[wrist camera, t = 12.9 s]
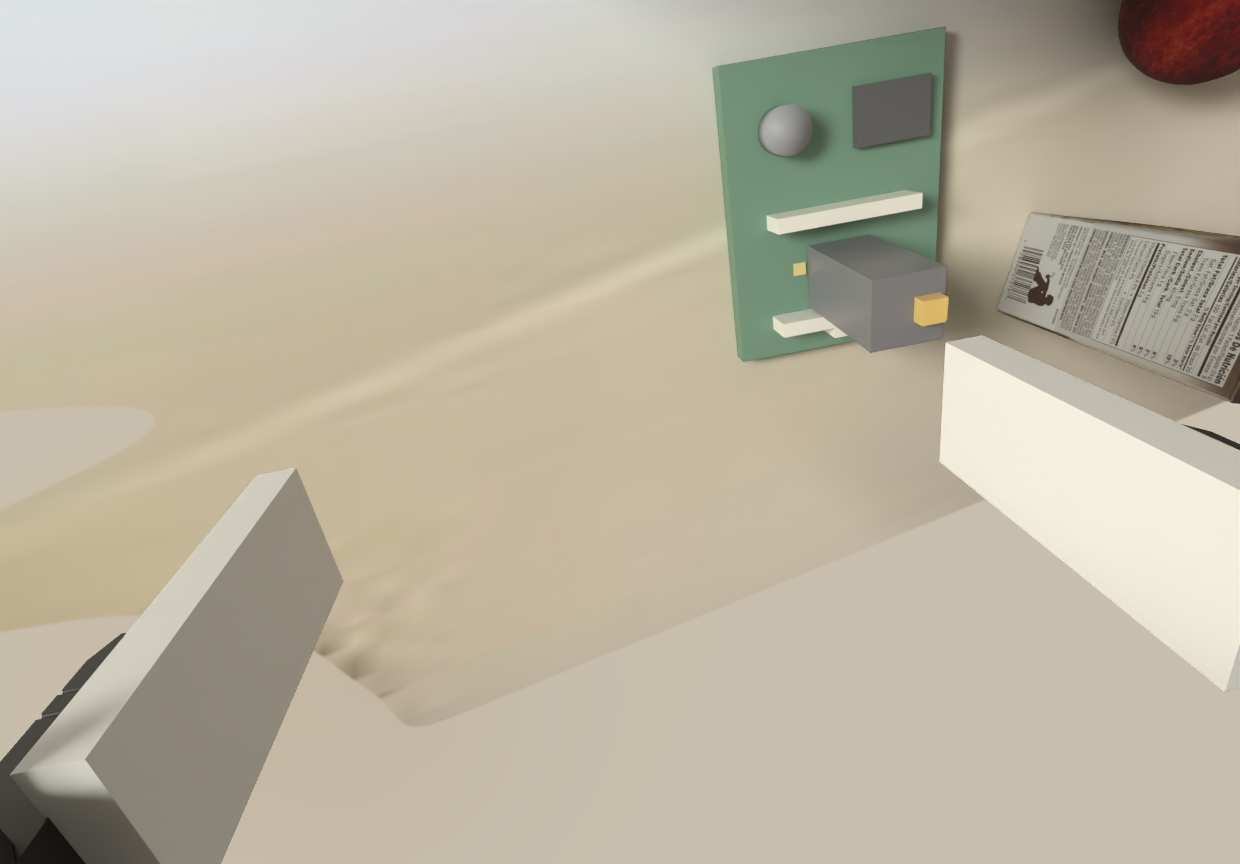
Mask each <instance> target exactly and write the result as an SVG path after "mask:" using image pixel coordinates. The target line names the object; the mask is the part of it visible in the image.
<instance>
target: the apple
mask: <svg viewBox="0 0 1240 864" xmlns="http://www.w3.org/2000/svg"><path fill="white" fill-rule="evenodd" d="M1118 32H1119V39H1120V43H1121V46H1122V49H1123V51H1124V53H1125V55H1126V57H1127V58H1128V59H1129V61H1130V62H1131V63H1132V64H1133V65H1134V66H1135V67H1136V68H1137V69H1138V70H1140V71H1141V72H1142V73H1144V74H1145V75H1147V76H1149V77H1151V78H1153V79H1156V80H1159V81H1162V82H1166V83H1171V84H1183V85H1191V84H1197V83H1202V82H1206V81H1210V80H1213V79H1217V78H1220V77H1223V76H1226V75H1228V74H1231V73H1233V72H1235V71H1237V70H1239V69H1240V0H1123V2H1122V5H1121V9H1120V14H1119V26H1118Z"/></svg>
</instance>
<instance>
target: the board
mask: <svg viewBox="0 0 1240 864" xmlns="http://www.w3.org/2000/svg"><path fill="white" fill-rule="evenodd" d="M945 31H946V27H940V28H934V29H929V30H923V31H917V32H911V33H905V34H900V35H894V36H888V37H882V38H877V39H871V40H865V41H859V42H854V43H848V44H842V45H836V46H831V47H825V48H819V49H813V50H808V51H802V52H796V53H790V54H785V55H779V56H773V57H767V58H762V59H756V60H750V61H744V62H739V63H733V64H727V65H721V66H717V67H715V68H713V79H714V91H715V102H716V113H717V125H718V136H719V148H720V159H721V170H722V182H723V193H724V204H725V216H726V227H727V239H728V250H729V261H730V273H731V284H732V295H733V307H734V318H735V329H736V341H737V352H738V357H739V358H740V359H741V360H742V361H743V362H746V361H751V360H756V359H761V358H767V357H772V356H777V355H782V354H787V353H793V352H798V351H803V350H808V349H814V348H819V347H824V346H829V345H834V344H840V343H845V342H850V341H854V340H853V339H852V338H850V337H849V336H848V335H846V334H845V333H844V332H842V331H841V330H840V329H838V328H837V327H836V326H834V325H833V324H832V323H830V322H829V321H828V320H826V319H825V318H824V317H822V316H821V315H820V314H818V313H817V312H816V311H814V310H813V309H812V308H810V307H809V282H808V246H809V245H814V244H819V243H825V242H830V241H835V240H841V239H846V238H851V237H856V236H862V235H867V234H870V235H872V236H875V237H877V238H879V239H882V240H884V241H887V242H889V243H892V244H894V245H897V246H899V247H902V248H904V249H906V250H909V251H911V252H914V253H916V254H919V255H921V256H924V257H926V258H929V259H931V260H933V261H936V243H937V220H938V196H939V173H940V149H941V126H942V102H943V79H944V55H945Z"/></svg>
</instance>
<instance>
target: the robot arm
mask: <svg viewBox="0 0 1240 864" xmlns="http://www.w3.org/2000/svg"><path fill="white" fill-rule="evenodd" d="M940 463H942V464H943V465H944V466H945V467H947V468H948V469H949V470H950V471H952V472H953V473H954V474H955V475H957V476H958V477H959V478H960V479H962V480H963V481H964V482H965V483H966V484H968V485H969V486H970V487H971V488H973V489H974V490H975V491H976V492H978V493H979V494H980V495H981V496H983V497H984V498H985V499H986V500H988V501H989V502H990V503H992V504H993V505H994V506H995V507H996V508H997V509H999V510H1000V511H1001V512H1002V513H1004V514H1005V515H1006V516H1007V517H1009V518H1010V519H1011V520H1012V521H1014V522H1015V523H1016V524H1017V525H1019V526H1020V527H1021V528H1022V529H1024V530H1025V531H1026V532H1027V533H1028V534H1030V535H1031V536H1032V537H1033V538H1035V539H1036V540H1037V541H1038V542H1040V543H1041V544H1042V545H1043V546H1045V547H1046V548H1047V549H1048V550H1050V551H1051V552H1052V553H1053V554H1054V555H1056V556H1057V557H1058V558H1059V559H1061V560H1062V561H1063V562H1064V563H1066V564H1067V565H1068V566H1069V567H1071V568H1072V569H1073V570H1074V571H1076V572H1077V573H1078V574H1079V575H1081V576H1082V577H1083V578H1084V579H1085V580H1087V581H1088V582H1089V583H1090V584H1092V585H1093V586H1094V587H1095V588H1097V589H1098V590H1099V591H1100V592H1102V593H1103V594H1104V595H1105V596H1107V597H1108V598H1109V599H1110V600H1111V601H1113V602H1114V603H1115V604H1116V605H1118V606H1119V607H1120V608H1121V609H1123V610H1124V611H1125V612H1126V613H1128V614H1129V615H1130V616H1131V617H1133V618H1134V619H1135V620H1136V621H1137V622H1139V623H1140V624H1141V625H1142V626H1144V627H1145V628H1146V629H1147V630H1149V631H1150V632H1151V633H1152V634H1154V635H1155V636H1156V637H1157V638H1159V639H1160V640H1161V641H1162V642H1164V643H1165V644H1166V645H1167V646H1169V647H1170V648H1171V649H1172V650H1173V651H1175V652H1176V653H1177V654H1178V655H1180V656H1181V657H1182V658H1183V659H1185V660H1186V661H1187V662H1189V663H1190V664H1191V665H1192V666H1193V667H1195V668H1196V669H1197V670H1199V671H1200V672H1201V673H1202V674H1203V675H1205V676H1206V677H1207V678H1208V679H1209V680H1211V681H1212V682H1213V683H1214V684H1216V685H1217V686H1218V687H1219V688H1221V689H1222V690H1223V691H1224V692H1227V691H1231V690H1237V689H1240V444H1238V443H1236V442H1233V441H1231V440H1229V439H1226V438H1224V437H1222V436H1220V435H1217V434H1215V433H1213V432H1210V431H1207V430H1203V429H1199V428H1194V427H1190V426H1187V425H1183V424H1180V423H1177V422H1175V421H1173V420H1171V419H1168V418H1166V417H1164V416H1162V415H1159V414H1157V413H1155V412H1153V411H1151V410H1148V409H1146V408H1144V407H1142V406H1139V405H1137V404H1135V403H1133V402H1130V401H1128V400H1126V399H1124V398H1121V397H1119V396H1117V395H1115V394H1112V393H1110V392H1108V391H1106V390H1103V389H1101V388H1099V387H1097V386H1095V385H1092V384H1090V383H1088V382H1086V381H1083V380H1081V379H1079V378H1077V377H1074V376H1072V375H1070V374H1068V373H1065V372H1063V371H1061V370H1059V369H1056V368H1054V367H1052V366H1050V365H1047V364H1045V363H1043V362H1041V361H1039V360H1036V359H1034V358H1032V357H1030V356H1027V355H1025V354H1023V353H1021V352H1018V351H1016V350H1014V349H1012V348H1009V347H1007V346H1005V345H1003V344H1000V343H998V342H996V341H994V340H991V339H989V338H987V337H985V336H983V335H981V336H976V337H971V338H965V339H960V340H955V341H950V342H946V346H945V365H944V384H943V404H942V423H941V443H940ZM342 583H343V579H342V577H341V574H340V572H339V570H338V567H337V565H336V562H335V560H334V558H333V555H332V553H331V550H330V548H329V545H328V543H327V541H326V538H325V536H324V533H323V531H322V529H321V526H320V524H319V521H318V519H317V517H316V514H315V512H314V509H313V507H312V505H311V502H310V500H309V497H308V495H307V493H306V490H305V488H304V485H303V483H302V481H301V478H300V476H299V473H298V471H297V469H296V468H292V469H287V470H282V471H277V472H271V473H266V474H261V475H257V476H256V477H255V478H254V479H253V480H252V482H251V483H250V484H249V485H248V486H247V488H246V489H245V490H244V491H243V493H242V494H241V495H240V496H239V497H238V499H237V500H236V501H235V502H234V503H233V505H232V506H231V507H230V508H229V509H228V511H227V512H226V513H225V514H224V516H223V517H222V518H221V519H220V520H219V522H218V523H217V524H216V525H215V526H214V528H213V529H212V530H211V531H210V533H209V534H208V535H207V536H206V537H205V539H204V540H203V541H202V542H201V543H200V545H199V546H198V547H197V548H196V550H195V551H194V552H193V553H192V554H191V556H190V557H189V558H188V559H187V560H186V562H185V563H184V564H183V565H182V566H181V568H180V569H179V570H178V571H177V573H176V574H175V575H174V576H173V577H172V579H171V580H170V581H169V582H168V583H167V585H166V586H165V587H164V588H163V590H162V591H161V592H160V593H159V594H158V596H157V597H156V598H155V599H154V600H153V602H152V603H151V604H150V605H149V607H148V608H147V609H146V610H145V611H144V613H143V614H142V615H141V616H140V617H139V619H138V620H137V621H136V622H135V623H134V625H133V626H132V627H131V628H130V630H129V631H128V632H127V633H123V634H120V635H119V636H118V637H117V638H115V639H114V640H113V641H112V642H110V643H109V644H108V645H106V646H105V647H104V648H103V649H101V650H100V651H99V652H98V653H96V654H95V655H94V656H92V657H91V658H90V659H89V660H87V661H86V662H85V664H84V665H83V666H82V667H81V669H79V671H78V672H77V673H76V674H75V675H74V676H73V678H72V679H71V680H70V681H69V682H68V683H67V685H66V686H65V687H64V688H63V690H62V691H63V694H62V695H57V696H56V697H55V699H54V700H53V701H52V702H51V703H50V705H49V706H48V707H47V708H46V709H45V710H44V711H43V713H42V719H39V720H36V721H35V722H34V723H33V724H32V725H31V727H30V728H29V729H28V730H27V731H26V732H25V734H24V735H23V736H22V737H21V738H20V739H19V741H18V742H17V743H16V744H15V745H14V747H13V748H12V749H11V750H10V751H9V753H7V755H6V756H5V757H4V758H3V759H2V761H1V762H0V864H221V862H222V860H223V857H224V855H225V853H226V850H227V848H228V846H229V844H230V841H231V839H232V837H233V835H234V832H235V830H236V828H237V825H238V823H239V821H240V818H241V816H242V814H243V811H244V809H245V807H246V805H247V802H248V800H249V798H250V795H251V793H252V791H253V788H254V786H255V784H256V781H257V779H258V777H259V774H260V772H261V770H262V768H263V765H264V763H265V761H266V758H267V756H268V754H269V751H270V749H271V747H272V745H273V742H274V740H275V738H276V735H277V733H278V731H279V728H280V726H281V724H282V722H283V719H284V716H285V714H286V712H287V710H288V708H289V705H290V703H291V700H292V698H293V696H294V694H295V692H296V689H297V687H298V685H299V682H300V680H301V678H302V675H303V673H304V671H305V668H306V666H307V664H308V661H309V659H310V657H311V654H312V652H313V650H314V648H315V645H316V643H317V641H318V638H319V636H320V634H321V632H322V629H323V627H324V625H325V622H326V620H327V618H328V615H329V613H330V611H331V608H332V606H333V604H334V602H335V599H336V597H337V595H338V592H339V590H340V588H341V585H342Z"/></svg>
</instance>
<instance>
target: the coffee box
mask: <svg viewBox="0 0 1240 864" xmlns="http://www.w3.org/2000/svg"><path fill="white" fill-rule="evenodd" d="M997 309H998V311H999V312H1001V313H1003V314H1006V315H1009V316H1011V317H1014V318H1016V319H1019V320H1022V321H1024V322H1027V323H1029V324H1032V325H1035V326H1037V327H1039V328H1042V329H1044V330H1047V331H1049V332H1052V333H1055V334H1057V335H1060V336H1062V337H1065V338H1067V339H1070V340H1072V341H1075V342H1077V343H1080V344H1082V345H1085V346H1087V347H1090V348H1092V349H1095V350H1097V351H1100V352H1102V353H1105V354H1108V355H1110V356H1113V357H1115V358H1118V359H1120V360H1123V361H1125V362H1128V363H1130V364H1133V365H1135V366H1138V367H1140V368H1143V369H1146V370H1148V371H1151V372H1153V373H1156V374H1159V375H1161V376H1164V377H1166V378H1169V379H1172V380H1174V381H1177V382H1179V383H1182V384H1184V385H1187V386H1190V387H1192V388H1195V389H1197V390H1200V391H1203V392H1205V393H1208V394H1211V395H1213V396H1216V397H1218V398H1221V399H1224V400H1226V401H1229V402H1231V403H1239V404H1240V236H1232V235H1225V234H1218V233H1210V232H1203V231H1195V230H1188V229H1181V228H1172V227H1164V226H1155V225H1146V224H1138V223H1129V222H1119V221H1110V220H1099V219H1089V218H1079V217H1070V216H1060V215H1051V214H1042V213H1031V214H1030V215H1029V218H1028V221H1027V224H1026V227H1025V230H1024V233H1023V235H1022V238H1021V241H1020V244H1019V247H1018V250H1017V252H1016V255H1015V258H1014V261H1013V264H1012V267H1011V270H1010V272H1009V275H1008V278H1007V281H1006V284H1005V287H1004V290H1003V293H1002V296H1001V299H1000V301H999V304H998V308H997Z"/></svg>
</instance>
